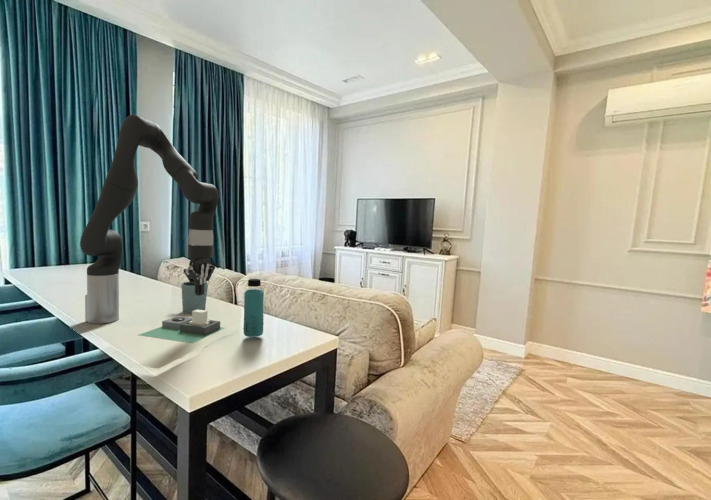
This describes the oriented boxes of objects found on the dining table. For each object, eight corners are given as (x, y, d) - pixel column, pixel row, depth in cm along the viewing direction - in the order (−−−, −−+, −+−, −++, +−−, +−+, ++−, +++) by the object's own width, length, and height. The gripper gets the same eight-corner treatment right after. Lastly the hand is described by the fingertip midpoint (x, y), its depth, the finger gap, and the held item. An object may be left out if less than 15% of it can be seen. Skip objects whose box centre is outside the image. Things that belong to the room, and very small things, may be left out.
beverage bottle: (267, 336, 113) (268, 278, 112) (255, 343, 107) (256, 281, 106) (251, 333, 115) (252, 276, 114) (238, 339, 109) (239, 279, 108)
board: (138, 339, 105) (138, 327, 105) (176, 325, 121) (176, 314, 120) (192, 348, 100) (192, 335, 100) (225, 332, 116) (225, 320, 116)
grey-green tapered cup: (191, 307, 145) (191, 280, 144) (212, 309, 144) (213, 282, 143) (175, 313, 135) (175, 284, 134) (198, 315, 134) (198, 286, 133)
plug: (189, 330, 111) (189, 311, 111) (197, 327, 115) (197, 308, 115) (204, 332, 110) (204, 313, 109) (211, 329, 114) (212, 310, 113)
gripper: (204, 241, 118) (203, 290, 119) (176, 243, 105) (175, 297, 106) (223, 243, 116) (221, 292, 117) (196, 245, 103) (195, 300, 104)
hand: (199, 294), depth 112 cm, fingers closed
